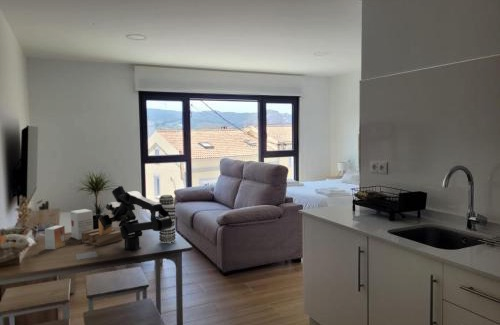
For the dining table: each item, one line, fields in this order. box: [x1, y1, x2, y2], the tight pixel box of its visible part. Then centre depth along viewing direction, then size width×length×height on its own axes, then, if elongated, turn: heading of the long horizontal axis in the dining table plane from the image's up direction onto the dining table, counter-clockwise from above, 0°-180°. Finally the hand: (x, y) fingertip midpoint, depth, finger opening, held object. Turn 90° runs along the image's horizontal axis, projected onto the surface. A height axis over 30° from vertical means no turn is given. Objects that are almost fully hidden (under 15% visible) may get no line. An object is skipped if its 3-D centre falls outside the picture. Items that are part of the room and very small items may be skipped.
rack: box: [81, 228, 123, 247], centre depth 203 cm, size 16×14×5 cm
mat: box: [75, 251, 99, 261], centre depth 178 cm, size 9×9×1 cm
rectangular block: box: [97, 216, 113, 235], centre depth 201 cm, size 2×6×12 cm, turn 145°
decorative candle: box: [158, 194, 176, 244], centre depth 200 cm, size 9×9×25 cm
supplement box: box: [70, 208, 94, 241], centre depth 211 cm, size 9×9×15 cm
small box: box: [44, 224, 66, 250], centre depth 192 cm, size 8×6×10 cm
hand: (111, 227), depth 197 cm, fingers open, 9 cm apart
